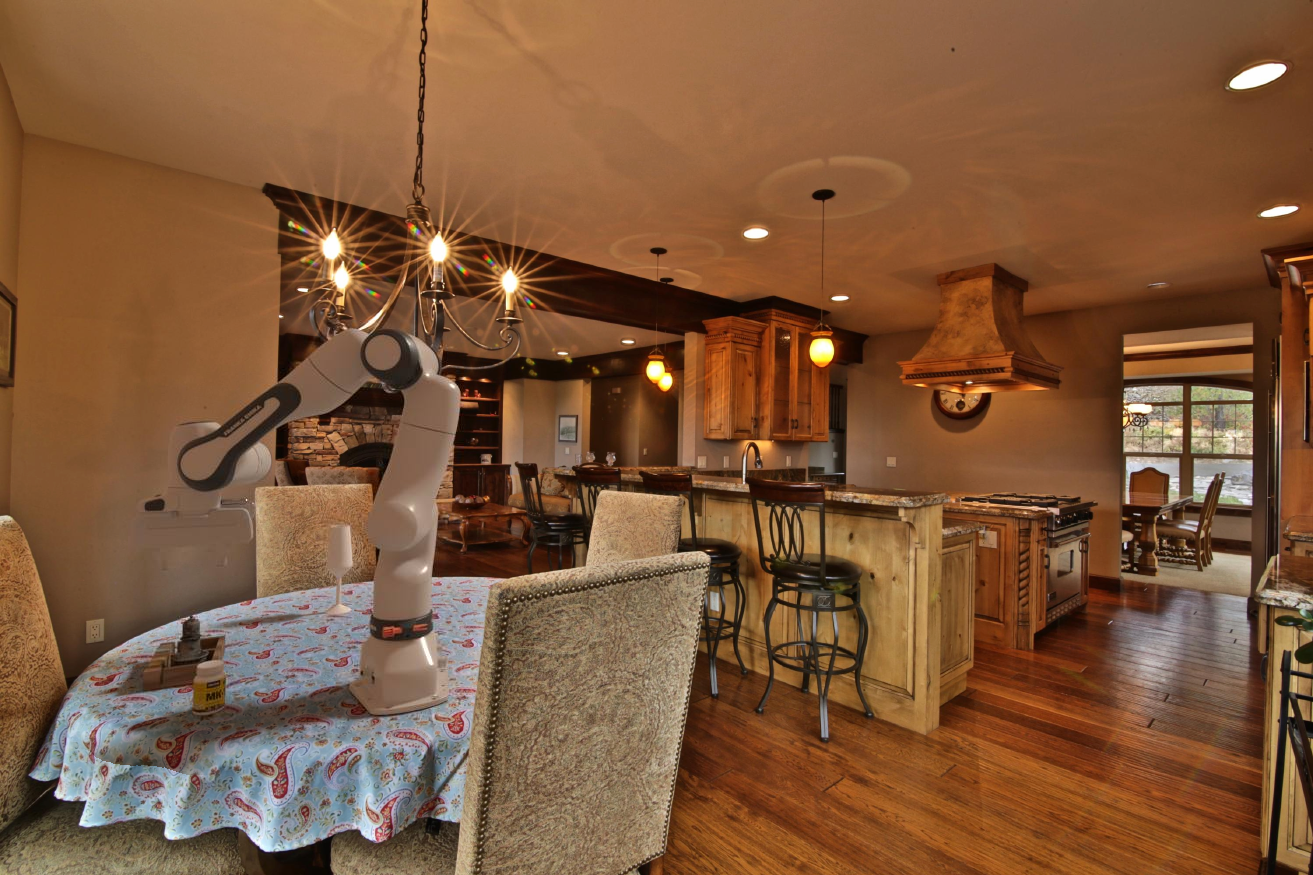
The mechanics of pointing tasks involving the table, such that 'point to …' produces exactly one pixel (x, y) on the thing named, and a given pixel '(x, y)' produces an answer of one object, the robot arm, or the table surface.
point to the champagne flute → (339, 561)
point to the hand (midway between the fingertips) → (193, 567)
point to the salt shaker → (190, 644)
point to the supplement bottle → (209, 688)
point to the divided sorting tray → (168, 675)
